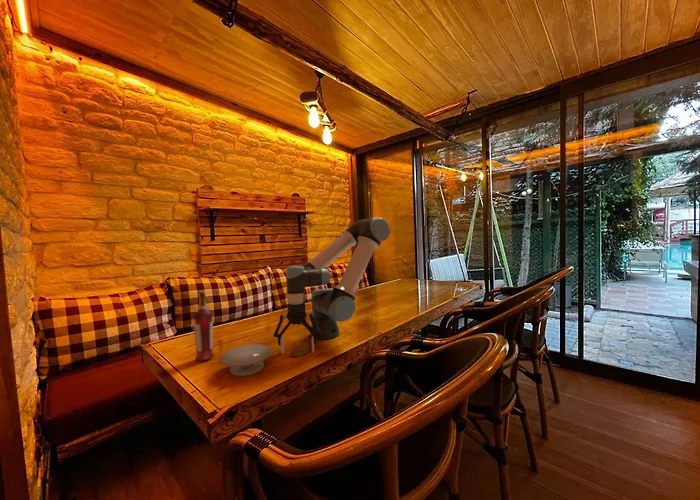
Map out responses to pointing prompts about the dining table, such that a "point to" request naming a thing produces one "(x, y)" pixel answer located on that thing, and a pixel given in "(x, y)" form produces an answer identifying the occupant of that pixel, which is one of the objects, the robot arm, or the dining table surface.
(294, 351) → the pastry
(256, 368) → the cake stand
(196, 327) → the ketchup bottle
